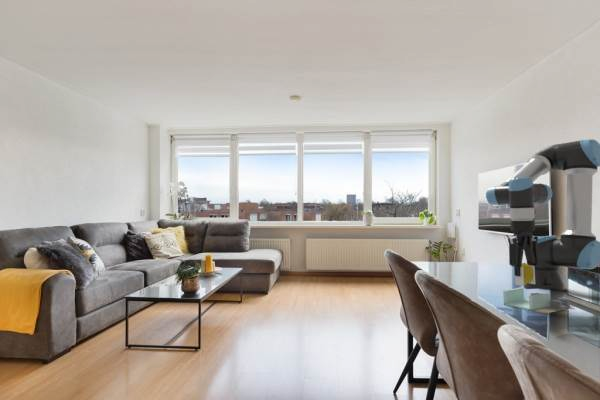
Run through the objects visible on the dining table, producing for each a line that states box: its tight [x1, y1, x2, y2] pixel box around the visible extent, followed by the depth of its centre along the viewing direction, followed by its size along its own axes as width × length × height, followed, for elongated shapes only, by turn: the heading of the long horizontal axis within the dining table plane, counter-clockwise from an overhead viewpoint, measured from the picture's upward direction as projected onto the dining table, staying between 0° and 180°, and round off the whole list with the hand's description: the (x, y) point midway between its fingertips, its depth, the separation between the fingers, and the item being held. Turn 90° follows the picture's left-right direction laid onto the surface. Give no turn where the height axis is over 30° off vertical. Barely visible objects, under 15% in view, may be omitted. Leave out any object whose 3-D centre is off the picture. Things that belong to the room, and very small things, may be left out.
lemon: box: [521, 262, 533, 285], centre depth 128 cm, size 6×6×8 cm
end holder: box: [502, 286, 551, 312], centre depth 128 cm, size 10×10×5 cm
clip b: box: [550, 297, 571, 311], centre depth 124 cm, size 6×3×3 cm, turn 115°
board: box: [516, 305, 575, 315], centre depth 127 cm, size 17×14×1 cm
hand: (525, 284), depth 128 cm, fingers closed on lemon, 5 cm apart
